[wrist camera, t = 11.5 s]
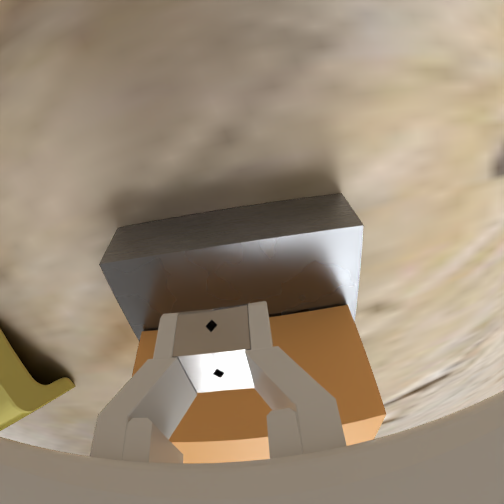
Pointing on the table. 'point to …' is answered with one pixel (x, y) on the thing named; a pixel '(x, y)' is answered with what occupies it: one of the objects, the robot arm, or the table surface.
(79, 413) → the table surface
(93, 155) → the table surface
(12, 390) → the plastic component
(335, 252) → the heatsink
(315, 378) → the clip
